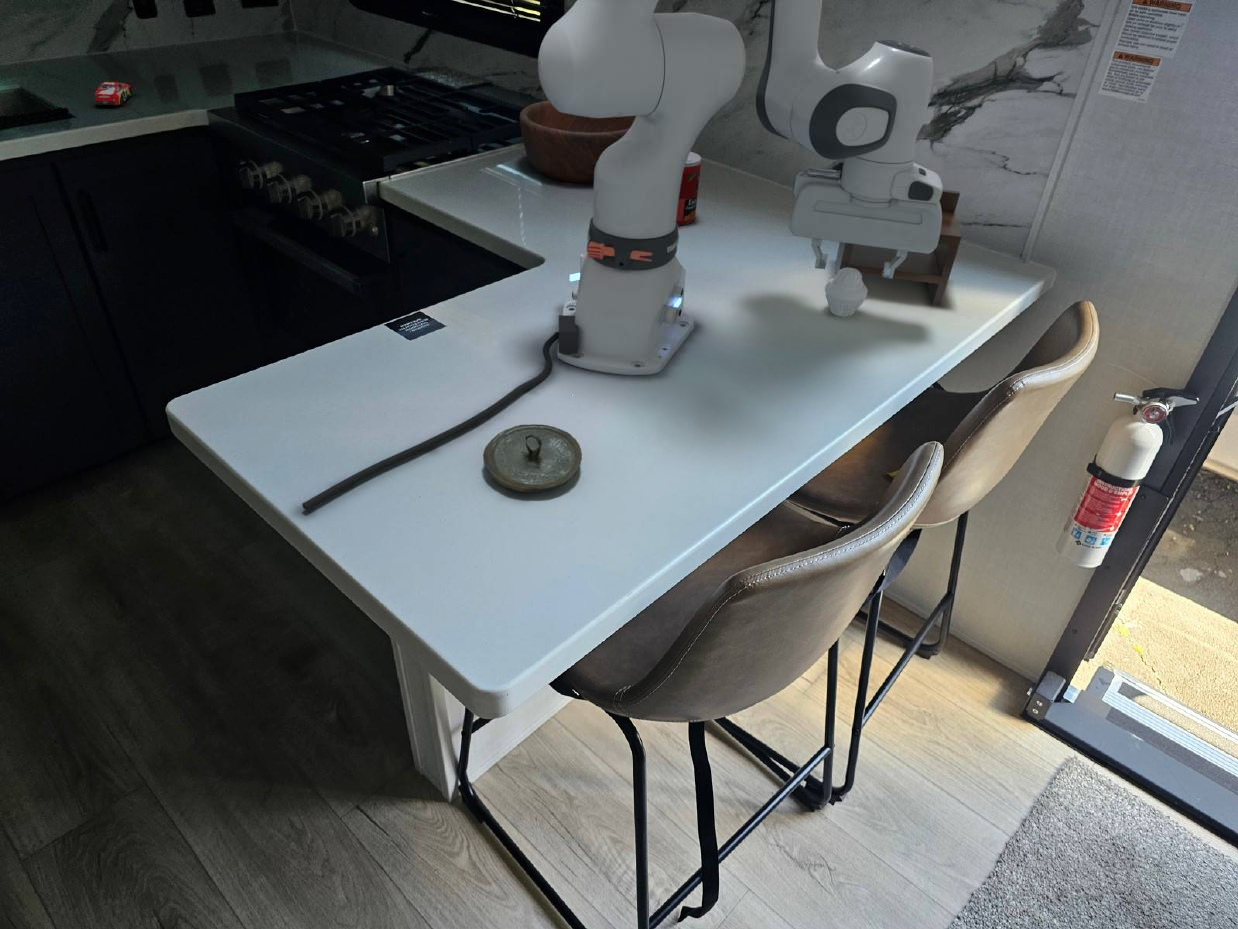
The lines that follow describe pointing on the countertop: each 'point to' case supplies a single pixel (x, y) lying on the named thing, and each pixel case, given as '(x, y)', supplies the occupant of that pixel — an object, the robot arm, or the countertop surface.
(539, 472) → the lid
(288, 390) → the countertop surface
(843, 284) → the muffin
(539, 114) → the wooden bowl
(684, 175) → the canned food
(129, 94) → the race car
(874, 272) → the shelf
